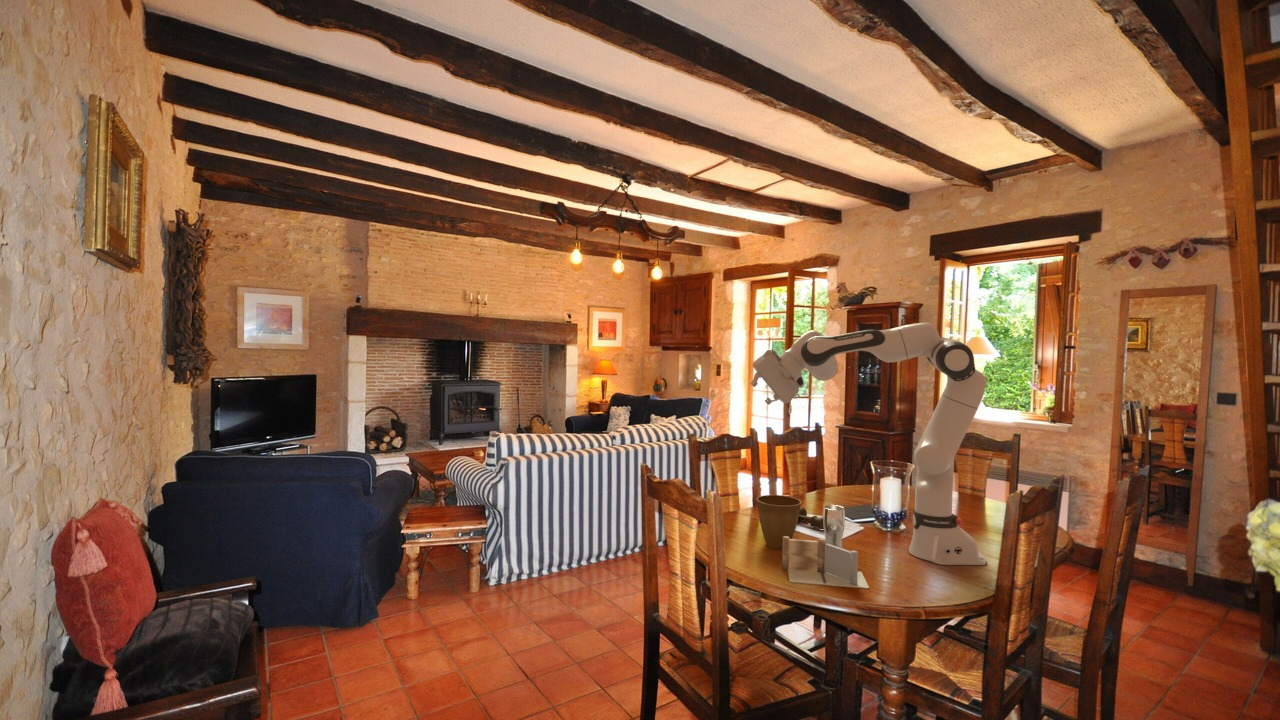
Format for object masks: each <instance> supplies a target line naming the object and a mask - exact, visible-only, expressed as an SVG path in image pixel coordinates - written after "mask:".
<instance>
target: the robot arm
mask: <svg viewBox="0 0 1280 720" xmlns="http://www.w3.org/2000/svg"><path fill="white" fill-rule="evenodd" d="M858 351H862V352H863V351H864V352H868V353H870V354H873V355H874V356H875V357H876V358H877V359H879V360H881V362H885V363H898V362H903V361H906V360H910V359H913V358H917V357H918V358H919V357H926V359H927V360H928V362H929V363H930V364H931V365H932V366H933V367H934V368H935V369H936V370H937V371H938V372H941V373H943V374H944V375H946V376H947V377H946V378H947V382H946V386H945V387H944V390H943V392H942V394H941V395H940V397H939V400H938V402H937V404H936V406H935V409H934V411H933V413H932V416H931V417H930V419H929V421H928V423H927V424H926V427H925V429H924V431H923V433H922V435H921V437H920V439H919V441H918V443H917V445H916V447H915V449H914V453H913V459H914V462H915V464H916V466H917V467H916V477H915V486H914V487H915V490H914V491H915V492H914V494H915V495H914V509H913V512H912V513H913V514H912V526H913V529H912V532H913V533H912V537H911V542H910V545H909V549H908V552H909V553H910V554H911V555H912V556H914V557H916V558H919V559H921V560H925V561H929V562H931V563H934V564H936V565H940V566H941V565H942V566H945V565H947V566H949V565H953V566H958V565H959V566H985V565H986V564H987V558H986V557H985V556H984V555H983V554H982V553H981V552H979V548H978V544H977V542H976V540H975V539H974V537H972V536H971V535H970V534H969V533H967V532H966V531H965V530H964V529H963V528H961V527H960V526H963V524H964V520H963V518H961V517H958V516H957V515H956V514H954V513H953V490H954V488H953V487H954V472H955V471H954V470H955V457H956V455H957V452H958V451H959V448H960V447H961V445H962V442H963V440H964V438H965V436H966V434H967V432H968V430H969V428H970V425H971V423H972V422H973V420H974V417H975V415H976V413H977V412H978V409H979V406H981V402H982V400H983V397H984V393H985V390H986V388H987V378H986V376H985V375H984V374H983V373H982V372H981V371H979V370H977V369H976V365H975V357H974V353H973V351H972V349H971V348H970V347H969V346H968V345H967V344H966V343H963V342H962V341H960V340H958V339H951V338H947V337H943V336H942V337H941V336H940V334H939V331H938V329H937V328H936V326H935V325H933V324H932V323H930V322H917V323H910V324H905V325H900V326H896V327H893V328H887V329H880V330H879V329H864V330H859V331H855V332H854V331H853V332H848V333H844V334H843V333H842V334H837V335H828V336H827V335H823V334H822V333H820V332H819V331H816V330H810V331H809V330H808V331H807V332H805V333H803V334H802V335H801V336H800V337H798V338H797V339H796V340H795V341H794V342H793V343H792V344H791V346H790V348H789V349H787V350H784V352H783V353H782V354H780V355H779V354H778V353H777V352H776V350H775V349H772V348H771V349H767V350H766V351H765V352H764V353H763V354H762V355H760V356H759V357H758V358H757V359H755V360H754V361H753V363H752V367H753V368H754V370H755V371H756V373H755V374H754V376H753V379H752V381H750V383H749V384H750V385H751V386H752V387H753V388H755V387H757V385H758V384H759V383H758V381H759V379H762V380H763V381H764V383H765V384H766V385H767V387H769V388H770V390H771V391H772V393H774V394H773V395H772V397H770V398H769V397H766V399H765V400H764V403H766V404H767V405H770V404H772V403H774V402H776V401H780V402H782V403H783V404H788V403H790V402H791V401H792V400H793V399H795V397H796V396H797V395H798V393H799V392H800V391H799V390H800V389H803V388H804V386H805V382H804V378H803V375H802V371H803V370H807V371H808V372H809V374H811V376H812V377H813V378H814V379H816V380H818V381H821V382H822V381H823V382H824V381H829V380H831V379H833V378H834V377H835V376H836V375H837V374H838V371H839V364H838V361H837V358H836V356H837V355H842V354H848V353H854V352H858Z"/></svg>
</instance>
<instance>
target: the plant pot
mask: <svg viewBox="0 0 1280 720" xmlns="http://www.w3.org/2000/svg"><path fill="white" fill-rule="evenodd" d="M756 505H757V513H758V519H759V523H760V527H761V531H762V535H763V538H764V541H765V544H766V546H767V547H768V548H771V549H773V550H783V536H788V537H789V539H793V538H794V535H795V531H796V527H797V525H798V517H799V512H800V506H801V507H802V501H801V500H800V499H798V498H796V497H794V496H793V497H792V496H786V495H782V494H781V495H779V494H765V495H761V496H758V497H756Z"/></svg>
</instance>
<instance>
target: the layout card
mask: <svg viewBox="0 0 1280 720" xmlns="http://www.w3.org/2000/svg"><path fill="white" fill-rule="evenodd" d="M787 573H788V579H789V583H793V584H805V585H815V586H817V585H818V586H827V587H829V586H830V587H831V586H832V587H843V588H855V589H865V590H867V589H868V590H869V589H870V586H869V585H868V583H867V580H866V578H865V577H864V574H863V572H862V571H858V582H857V585H853V584H851V583H850V582H849V581H847V580H844V579H842V578H839V577H837V576H834V575H832V574H829V573H827V572H819V571H805V570H792V569H788V570H787Z"/></svg>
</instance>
